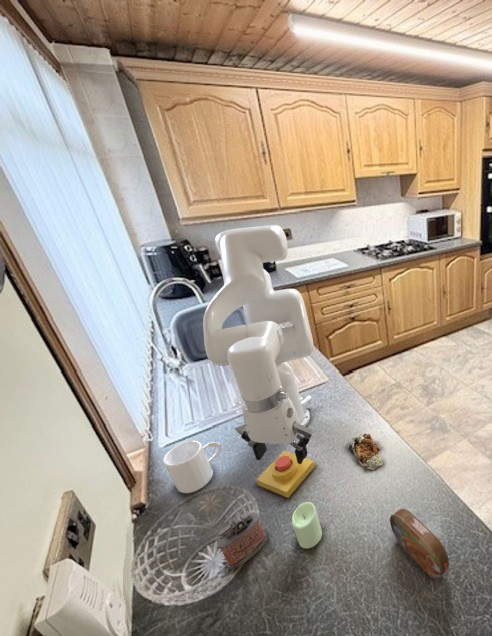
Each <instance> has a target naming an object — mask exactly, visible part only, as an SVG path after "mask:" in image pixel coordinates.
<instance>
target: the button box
mask: <svg viewBox="0 0 492 636" xmlns="http://www.w3.org/2000/svg"><path fill="white" fill-rule="evenodd" d="M282 456H289V457H290V460H291V463H292V465H291V467H290V468H289V469H288V470H286V471H283V472H279V471H278V470H277V468H276V465H275V462H276V460H277V459H278V458H280V457H282ZM315 467H316V465H315V461H314V460H312V459H309V458H307V457H306V458H304V460H303V462H302V464H298V462H297V459H296V455H295V453H292V452H290V451H287V450H284V451H282V452H281V453H280V454H279V456H278V457H276V459H274V461H272V463H271V464H270V465H268V467H267V468H265V470H264V471H263V472H262V473H261V474H260V475H259V476H258V477H256V478H255V480H256V484H257V486H259V487H261V488H263V489H265V490H268V491H271V492H272V493H275V494H278V495H280V496H282V497H285V498H286V499H289V498H290V497H291V496H292V494H293V493H295V491H296V490H297V488H299V486H300V485H301V484H302V483H303V481H304V480H305V479H306V478H307V477H308V476H309V474H310V473H311V472H313V470H314V469H315Z"/></svg>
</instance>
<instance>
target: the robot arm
mask: <svg viewBox="0 0 492 636" xmlns="http://www.w3.org/2000/svg"><path fill="white" fill-rule="evenodd" d="M214 242H215V246H216V249H217V251H218V254H219V255H220V259H221V269H222V278H223V286H222V287H221V288H220V289H219V290H218V291H217V292H216V293H215V295H214V296H213V297H212V299H211V300H210V301H209V303H208V305H207V307H206V309H205V311H204V314H203V317H202V319H203V320H202V328H203V342H204V350H205V355H206V356H207V359H208V360H209V362H210V363H211V364H213V365H215V366H218V367H227V366H229V367H230V369H231V372H232V375H233V378H234V382H235V384H236V386H237V389H238V392H239V395H240V398H241V402H242V417H243V418H242V419H243V421H242V422H241V423H239V424H237V426H236V427H234V431H236V432H237V434H238V435H240V436H241V437H240V438H241V439H242V440H244V441H245V442H247V446H248V447H250V448H251V449H252V451H253V454H254V456H255V457H254V458H255V460H256V461H261V460H262V458H263V457H264V455H266V453H267V451H268V448H267V444H269V445H270V444H271V445H291V446H292V447H293V448H294V454H295V455H296V459H297V462H298V464H302V462H303V460H304V458H307V456H308V448H307V445H308V444H309V442H310V441H311V439H312V436H313V434H314V432H315V431H314V429H313V428H310V427H307V425H308V423H309V422H310V420H311V414H310V411H309V410H308V408H307V407H308V404H310V403H311V402H312V401H313V400H314V398H313V396H312V395H310V394H309V395H307V396H306V397H305V398H304V397H303V396H301V395H300V392H299V387H298V384H297V380H296V375H295V372H294V370H293V368H292V367H291V366H290V365H289V364H288V363H287V362H291V361H295V360H300V359H304V358H307V357H310V356H311V355H312V354H313V353H314V349H315V345H314V340H313V335H312V329H311V325H310V320H309V317H308V312H307V308H306V303H305V300H304V298H303V295H302V294H301V293H300V291H299V290H297V289H295V288H284V289H278V290H274V288H273V283H272V278H271V275H270V273H269V272H268V271H267V270H266V269H264V263H270V262H271V263H272V262H278V261H284V260H285V259H286V258H287V256H288V253H289V251H288V248H289V247H288V239H287V235H286V233H285V231H284V230H283V228H282V227H281V226H280V225H278V224H270V225H260V226H259V225H258V226H250V227H239V228H232V229H231V228H230V229H227V230H224V231H221V232H219V233H218V234H217V235H216V236H215V239H214ZM241 308H243V313H244V317H245V320H246V324H245V323H244V324H241V325H240V324H239V325H235V326H229V327H225V328H224V327H223V325H224V323H225V322H226V320H227V319H228V317H229V316H230V315H231V314H233V313H234V312H235V311H237V310H239V309H241ZM287 323H289V324H292V325H291V326H287V327H282V328H281V327H280V325H281V324H287ZM296 439H297V440H298V441H296Z"/></svg>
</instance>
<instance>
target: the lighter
mask: <svg viewBox="0 0 492 636" xmlns="http://www.w3.org/2000/svg"><path fill="white" fill-rule="evenodd" d="M217 536H218V539H217V541H216V545H217V547H218V549H220V550H221V553H222V555H223V556H224V559H225V560H226V565H227V567H228V568H229V570H235V569H237V568H239V567H240V566H241V565H243V564H244V563H246V562H248V560H250V559H251V558H253V556H255V554H257V553H258V552H259V551H260V550H261V549H262V548H263V547H264V546H265V545H266V544H267V542H268V537H267V535H266V533H265V532H264V530H263V526H262V524H261V522H260V517H259V514H258V513H257V512H252V513H251V512H250V511H249V510H246V511H244V513H242V514H241V515H236V516H235V517H234V518H233V519H232V521H231V522H230V523H229V524H228V525H226V526H225V527H223V528H222V529H221V530H219V531H218V533H217Z"/></svg>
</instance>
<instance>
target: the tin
mask: <svg viewBox="0 0 492 636" xmlns="http://www.w3.org/2000/svg"><path fill="white" fill-rule="evenodd" d="M389 525H390V528H391V530H392V533H393V535H394V537H395V539H396V541H397V543H399V545H400V546H401V547H402V549H404V550H405V552H406V553H408V555H409V556H410V557H411V558H412V559H413V560H414V561H415V562H416V563H417V564H418V565H419V566H420V568H421V569H422V570H423V571H424V572H425V573H426V574H427V575H428V576H429V577H430V578H432V579H434V580H440V579H441V578H442V577H443V575H444V574H445V573H447V571H448V570H449V567H450V566H449V565H450V560H449V556H448V553H447V550H446V549H445V547H444V545H443V543H442V542H441V541H440V540H439V538H438V537H437V536H436V535H435V534H434V533H433V532H432V531H431V530H430V529H429V528H428V527H427V526H426V525H425V524H424V523H423V522H422V521H420V520H419V519H418V518H417V517H416V516H415V515H414V514H413V513H412V512H411V511H409V510H408V509H406V508H400V509H398V510H397V511H396V512H395V513H393V514H391V515H390V517H389Z"/></svg>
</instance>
